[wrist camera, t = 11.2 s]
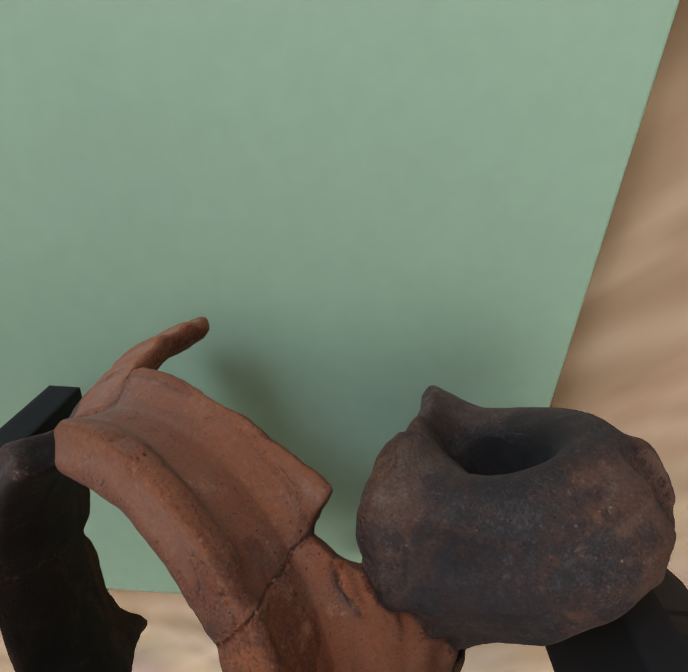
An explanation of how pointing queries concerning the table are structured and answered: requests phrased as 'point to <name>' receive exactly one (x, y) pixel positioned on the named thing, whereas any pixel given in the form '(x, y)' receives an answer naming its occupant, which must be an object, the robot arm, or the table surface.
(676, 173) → the table surface
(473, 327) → the desk mat
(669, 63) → the table surface
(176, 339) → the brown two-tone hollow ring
